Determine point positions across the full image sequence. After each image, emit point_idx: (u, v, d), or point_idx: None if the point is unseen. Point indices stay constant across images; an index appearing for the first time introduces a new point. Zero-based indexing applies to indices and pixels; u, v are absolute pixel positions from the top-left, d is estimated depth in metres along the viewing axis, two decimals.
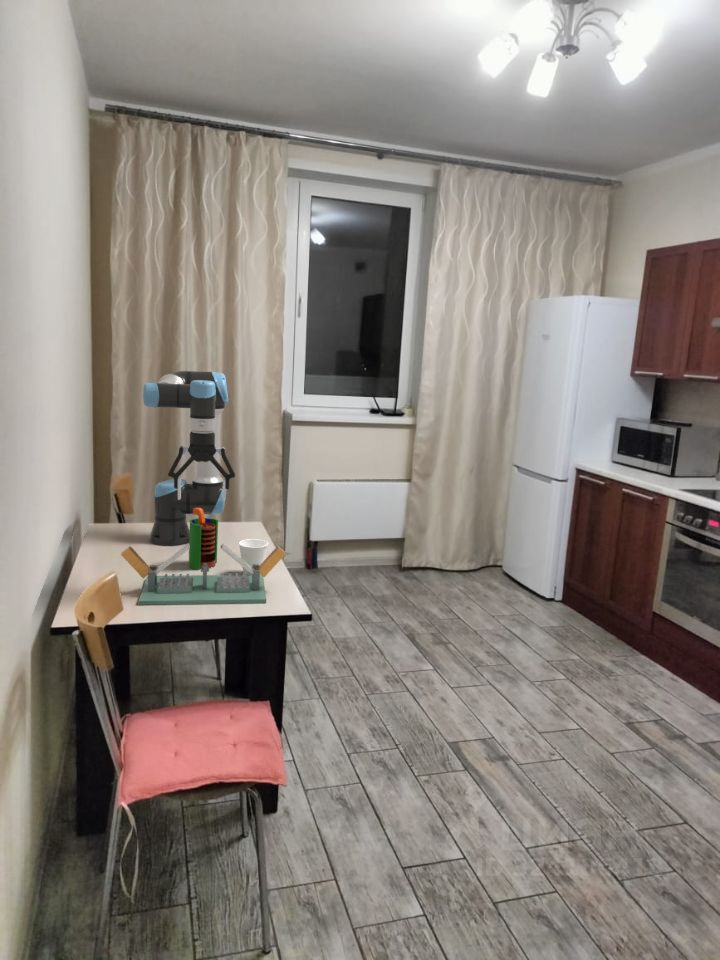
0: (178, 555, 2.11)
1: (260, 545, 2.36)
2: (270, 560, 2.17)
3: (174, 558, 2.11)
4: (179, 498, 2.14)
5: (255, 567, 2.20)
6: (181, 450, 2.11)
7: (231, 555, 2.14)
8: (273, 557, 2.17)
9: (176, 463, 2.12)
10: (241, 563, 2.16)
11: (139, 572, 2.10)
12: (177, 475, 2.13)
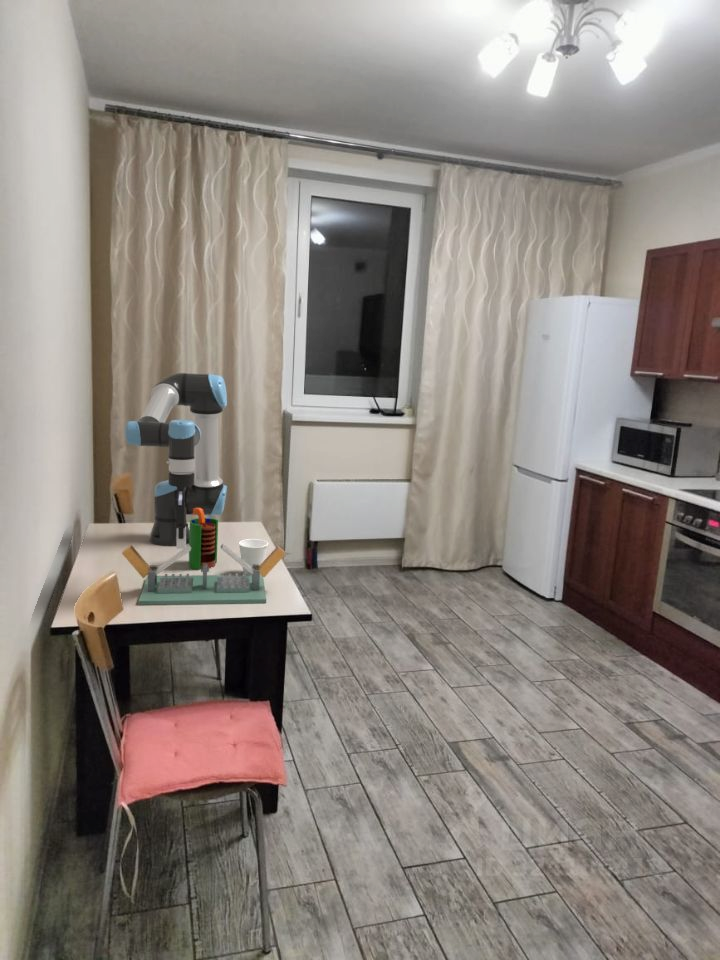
0: (179, 556, 2.12)
1: (260, 545, 2.36)
2: (270, 560, 2.17)
3: (175, 559, 2.12)
4: None
5: (255, 567, 2.20)
6: None
7: (231, 555, 2.14)
8: (273, 557, 2.17)
9: None
10: (241, 563, 2.16)
11: (139, 572, 2.10)
12: None
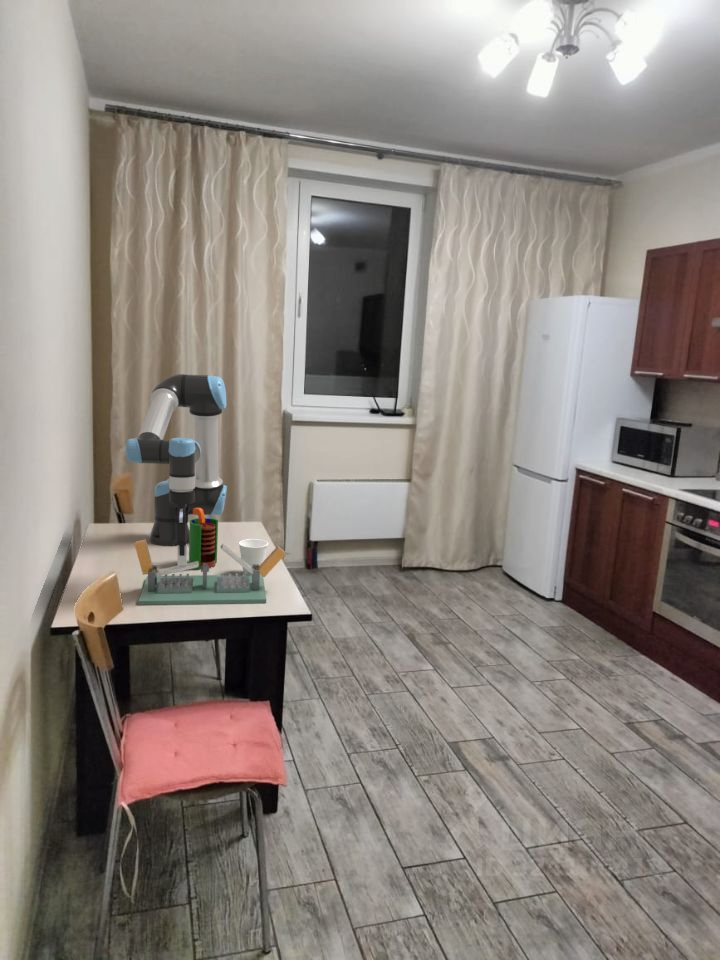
0: (185, 568, 2.13)
1: (260, 545, 2.36)
2: (270, 560, 2.17)
3: (180, 569, 2.12)
4: None
5: (255, 567, 2.20)
6: None
7: (231, 555, 2.14)
8: (273, 557, 2.17)
9: None
10: (241, 563, 2.16)
11: (142, 567, 2.10)
12: None
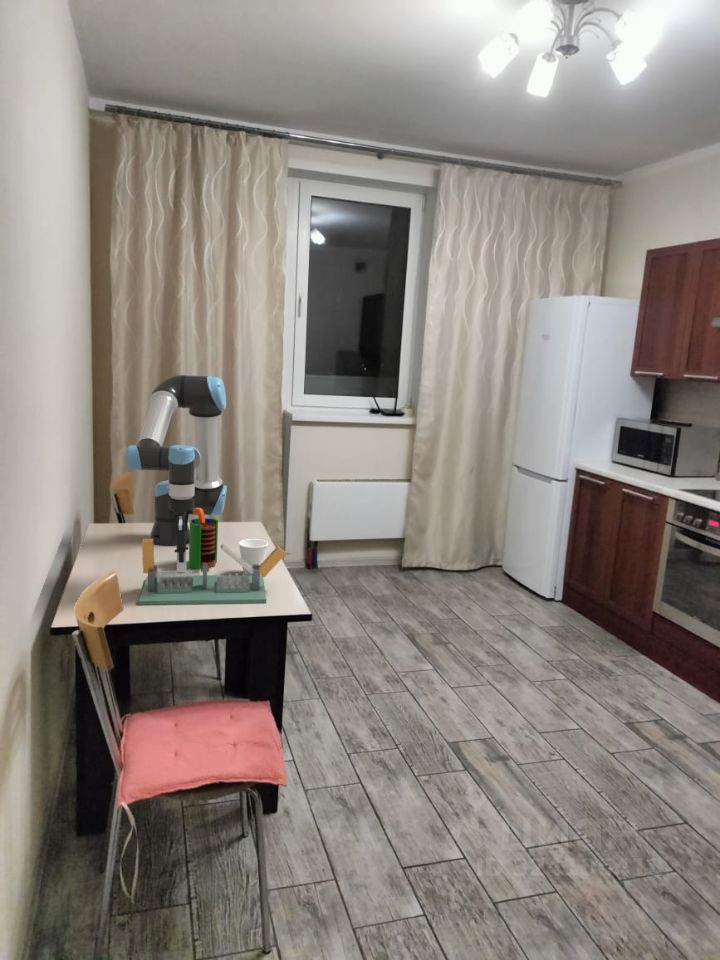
0: (186, 575, 2.13)
1: (260, 545, 2.36)
2: (270, 560, 2.17)
3: (181, 574, 2.13)
4: None
5: (255, 567, 2.20)
6: None
7: (231, 555, 2.14)
8: (273, 557, 2.17)
9: None
10: (241, 563, 2.16)
11: (144, 566, 2.10)
12: None
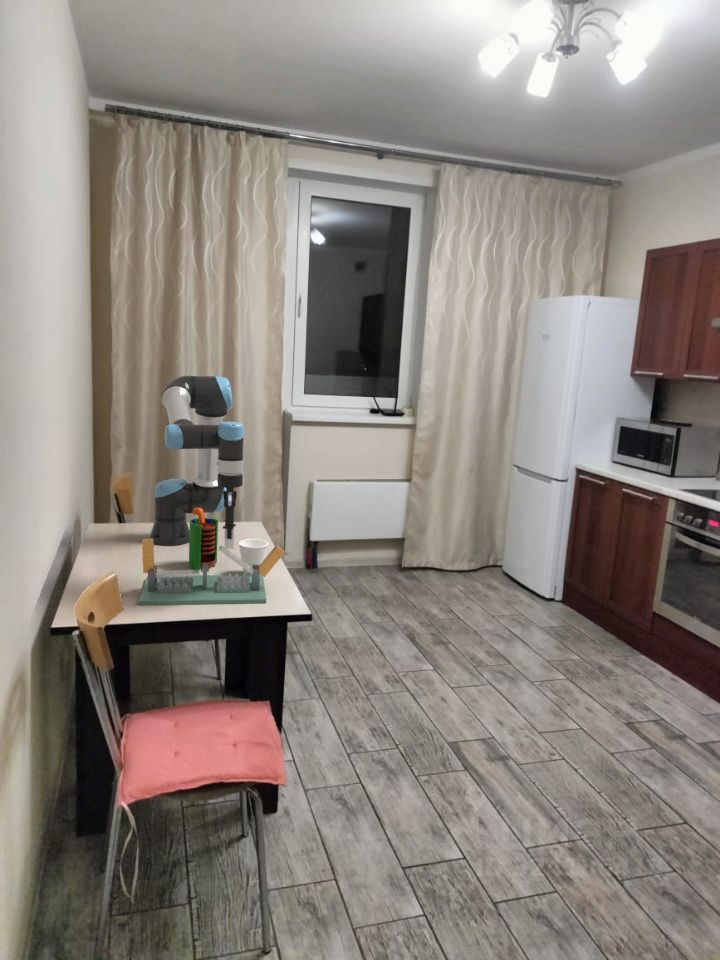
0: (186, 575, 2.13)
1: (260, 545, 2.36)
2: (269, 560, 2.17)
3: (181, 574, 2.13)
4: None
5: (255, 567, 2.20)
6: None
7: (230, 556, 2.14)
8: (272, 556, 2.17)
9: None
10: (240, 564, 2.16)
11: (144, 566, 2.10)
12: None
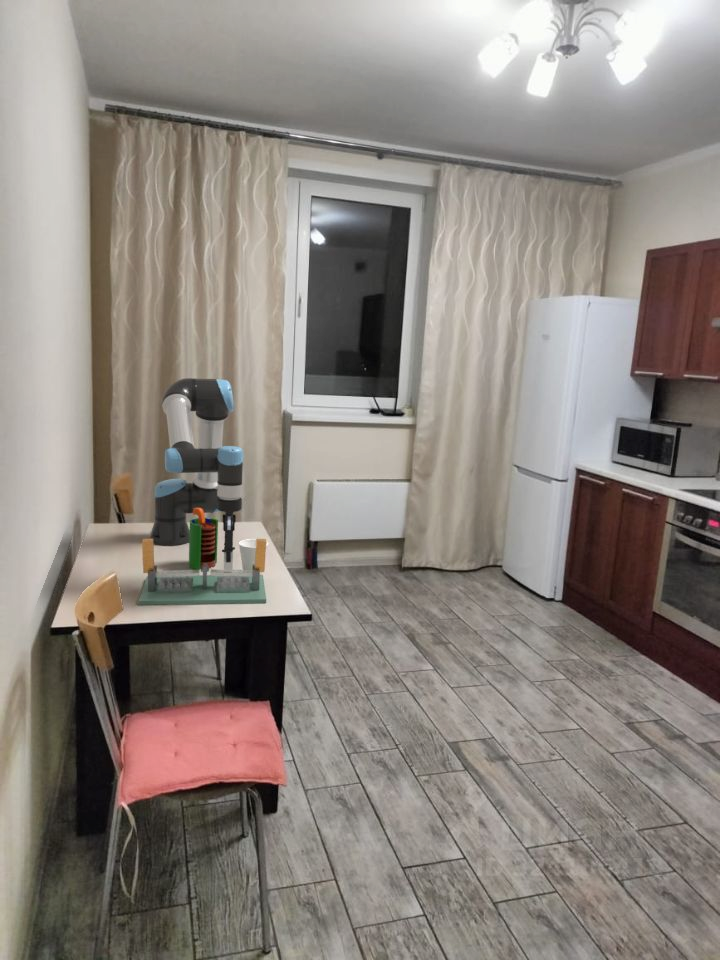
0: (186, 575, 2.13)
1: None
2: (258, 555, 2.16)
3: (181, 574, 2.13)
4: None
5: None
6: None
7: (223, 574, 2.15)
8: (258, 551, 2.16)
9: None
10: (236, 574, 2.16)
11: (144, 566, 2.10)
12: None
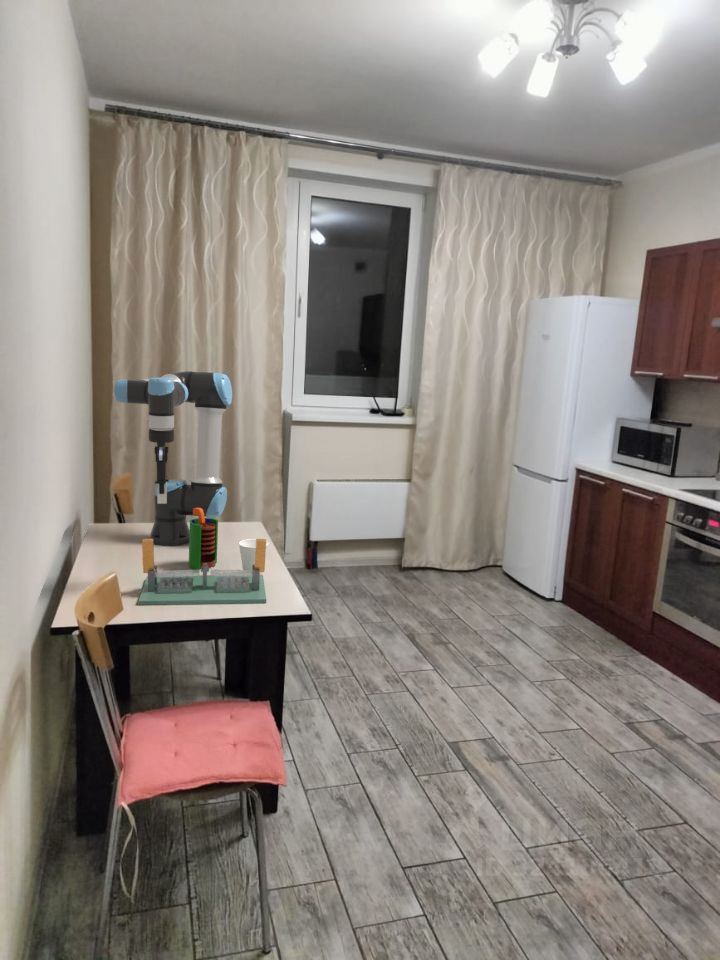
0: (186, 575, 2.13)
1: None
2: (258, 555, 2.16)
3: (181, 574, 2.13)
4: (157, 501, 2.18)
5: None
6: None
7: (223, 574, 2.15)
8: (258, 551, 2.16)
9: None
10: (236, 574, 2.16)
11: (144, 566, 2.10)
12: None
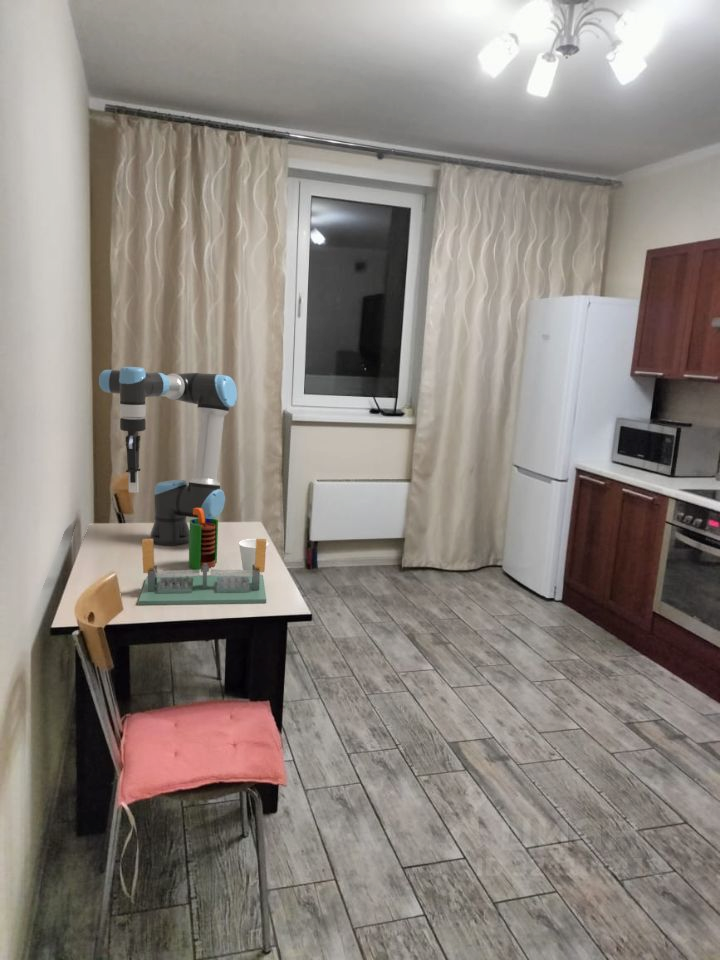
0: (186, 575, 2.13)
1: None
2: (258, 555, 2.16)
3: (181, 574, 2.13)
4: (129, 490, 2.19)
5: None
6: None
7: (223, 574, 2.15)
8: (258, 551, 2.16)
9: None
10: (236, 574, 2.16)
11: (144, 566, 2.10)
12: None
